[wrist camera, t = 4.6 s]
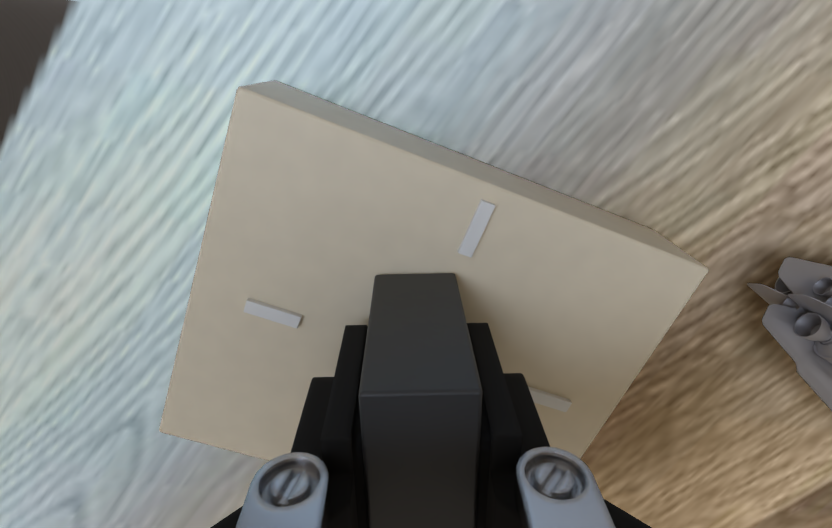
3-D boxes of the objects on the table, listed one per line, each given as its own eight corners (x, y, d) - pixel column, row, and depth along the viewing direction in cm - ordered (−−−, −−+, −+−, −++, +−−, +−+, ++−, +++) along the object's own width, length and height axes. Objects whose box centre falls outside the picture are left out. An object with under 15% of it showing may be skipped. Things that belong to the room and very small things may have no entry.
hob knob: (374, 273, 12) (356, 403, 7) (455, 271, 12) (485, 400, 7) (382, 431, 14) (372, 609, 9) (452, 429, 14) (474, 606, 9)
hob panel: (198, 370, 16) (154, 437, 14) (272, 79, 13) (234, 85, 10) (512, 460, 18) (533, 535, 16) (654, 229, 15) (715, 272, 12)
